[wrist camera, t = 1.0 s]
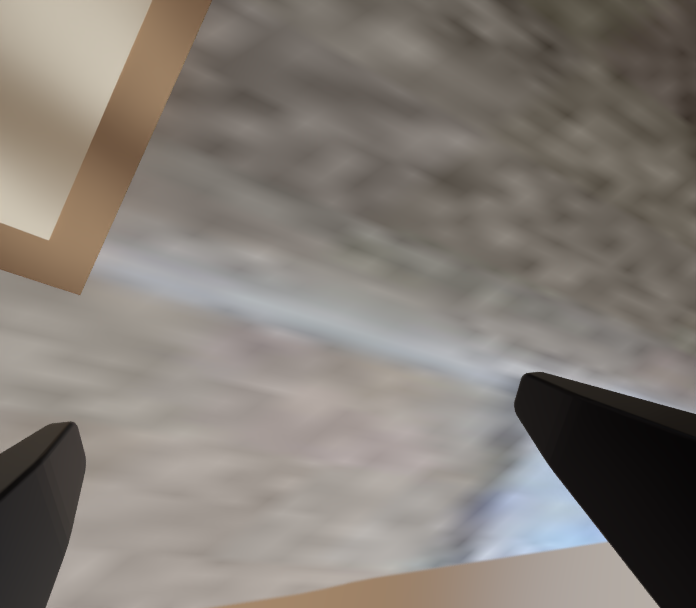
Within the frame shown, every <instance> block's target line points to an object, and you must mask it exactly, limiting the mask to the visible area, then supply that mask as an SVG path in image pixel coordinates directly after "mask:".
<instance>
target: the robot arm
mask: <svg viewBox="0 0 696 608" xmlns="http://www.w3.org/2000/svg"><path fill="white" fill-rule="evenodd" d="M514 408H515V412H516V415H517V416H518V418H519V420H520V421H521V423H522V424H523V426H524V427H525V429H526V431H527V432H528V434H529V435H530V437H531V439H532V440H533V442H534V443H535V445H536V446H537V448H538V450H539V451H540V453H541V454H542V456H543V457H544V459H545V460H546V462H547V463H548V465H549V466H550V468H551V469H552V470H553V472H554V473H555V474H556V476H557V477H558V478H559V479H560V481H561V482H562V483H563V485H564V486H565V487H566V488H567V490H568V491H569V492H570V493H571V495H572V496H573V497H574V499H575V500H576V501H577V502H578V504H579V505H580V506H581V508H582V509H583V510H584V511H585V513H586V514H587V515H588V516H589V518H590V519H591V520H592V522H593V523H594V524H595V525H596V527H597V528H598V529H599V531H600V532H601V533H602V534H603V536H604V537H605V538H606V539H607V541H608V542H609V543H610V545H612V547H613V548H614V550H615V551H616V552H617V553H618V555H619V556H620V557H621V558H622V560H623V561H624V562H625V564H626V565H627V566H628V568H629V569H630V570H631V571H632V573H633V574H634V575H635V576H636V578H637V579H638V580H639V582H640V583H641V584H642V585H643V587H644V588H645V589H646V591H647V592H648V593H649V594H650V596H651V597H652V598H653V599H654V601H655V602H656V603H657V605H658V606H659V607H660V608H696V414H693V413H690V412H686V411H683V410H679V409H675V408H672V407H668V406H664V405H661V404H657V403H653V402H650V401H646V400H642V399H639V398H635V397H631V396H628V395H624V394H621V393H617V392H613V391H610V390H606V389H602V388H599V387H595V386H591V385H588V384H584V383H580V382H577V381H573V380H569V379H566V378H562V377H558V376H555V375H551V374H548V373H544V372H532V373H526V374H524V375H523V376H522V378H521V381H520V384H519V388H518V391H517V395H516V398H515V402H514ZM85 468H86V457H85V452H84V449H83V445H82V441H81V437H80V433H79V430H78V427H77V425H76V423H74V422H62V423H52V424H49V425H47V426H45V427H44V428H42V429H40V430H39V431H37V432H35V433H34V434H32V435H30V436H29V437H27V438H25V439H24V440H22V441H20V442H19V443H17V444H16V445H14V446H12V447H11V448H9V449H7V450H6V451H4V452H2V453H1V454H0V608H46V605H47V602H48V600H49V597H50V594H51V591H52V589H53V586H54V583H55V580H56V578H57V575H58V572H59V569H60V567H61V564H62V561H63V558H64V556H65V553H66V550H67V546H68V543H69V540H70V536H71V532H72V527H73V523H74V518H75V514H76V510H77V505H78V501H79V496H80V492H81V487H82V483H83V478H84V474H85Z"/></svg>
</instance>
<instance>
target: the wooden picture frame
mask: <svg viewBox="0 0 696 608" xmlns="http://www.w3.org/2000/svg"><path fill="white" fill-rule="evenodd" d="M211 2H212V0H0V269H1V270H4V271H7V272H10V273H13V274H16V275H19V276H23V277H26V278H29V279H32V280H35V281H38V282H41V283H44V284H47V285H50V286H53V287H56V288H59V289H62V290H66V291H69V292H72V293H75V294H78V295H80V294H81V292H82V290H83V288H84V286H85V283H86V281H87V279H88V277H89V274H90V272H91V270H92V268H93V265H94V263H95V261H96V259H97V256H98V254H99V252H100V250H101V248H102V245H103V243H104V241H105V239H106V236H107V234H108V232H109V230H110V227H111V225H112V223H113V221H114V218H115V216H116V214H117V212H118V210H119V207H120V205H121V203H122V201H123V198H124V196H125V194H126V192H127V189H128V187H129V185H130V183H131V180H132V178H133V176H134V174H135V172H136V169H137V167H138V165H139V163H140V160H141V158H142V156H143V154H144V151H145V149H146V147H147V145H148V142H149V140H150V138H151V136H152V134H153V131H154V129H155V127H156V125H157V122H158V120H159V118H160V116H161V113H162V111H163V109H164V107H165V104H166V102H167V100H168V98H169V96H170V93H171V91H172V89H173V87H174V84H175V82H176V80H177V78H178V75H179V73H180V71H181V69H182V66H183V64H184V62H185V60H186V57H187V55H188V53H189V51H190V49H191V46H192V44H193V42H194V40H195V37H196V35H197V33H198V31H199V28H200V26H201V24H202V22H203V19H204V17H205V15H206V13H207V11H208V8H209V6H210V4H211Z"/></svg>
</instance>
